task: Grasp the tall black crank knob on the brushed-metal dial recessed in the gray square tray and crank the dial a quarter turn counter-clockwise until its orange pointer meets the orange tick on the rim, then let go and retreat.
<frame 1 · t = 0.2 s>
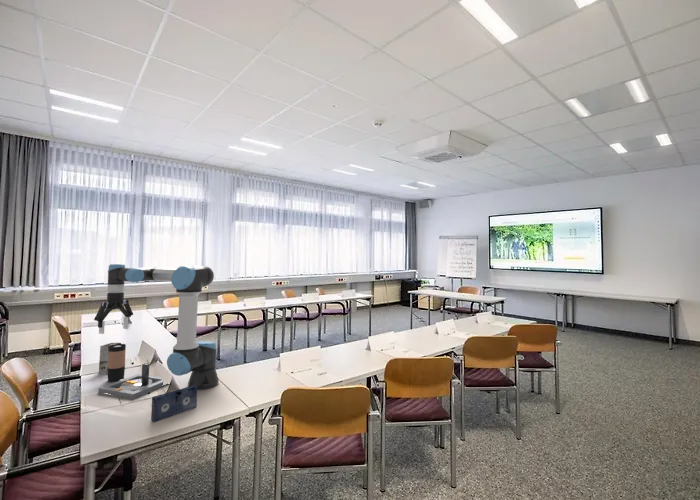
hand: (113, 331, 178), 28 cm above the table, fingers open, 13 cm apart
gray square tray: (136, 390, 167), on the table
vhs cassette tape: (174, 414, 143), on the table
travel mug: (115, 383, 177), on the table
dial: (136, 375, 167), point 8 cm above the table, hinge at 0.0°
coffee box: (109, 371, 194), on the table
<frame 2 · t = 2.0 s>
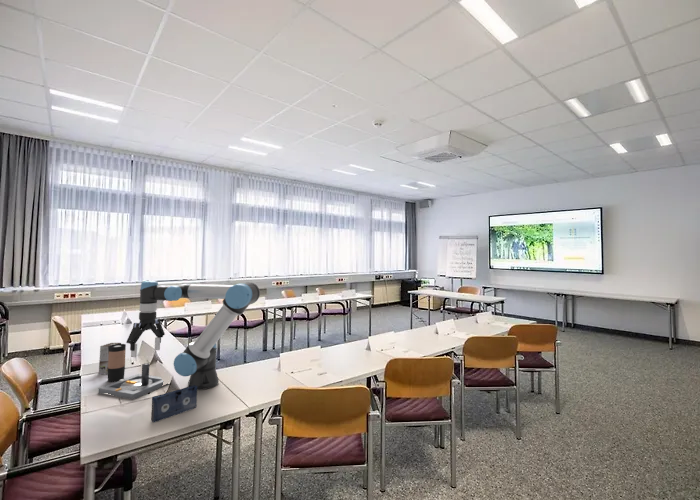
hand: (145, 353, 166), 19 cm above the table, fingers open, 13 cm apart
nothing on the table moved.
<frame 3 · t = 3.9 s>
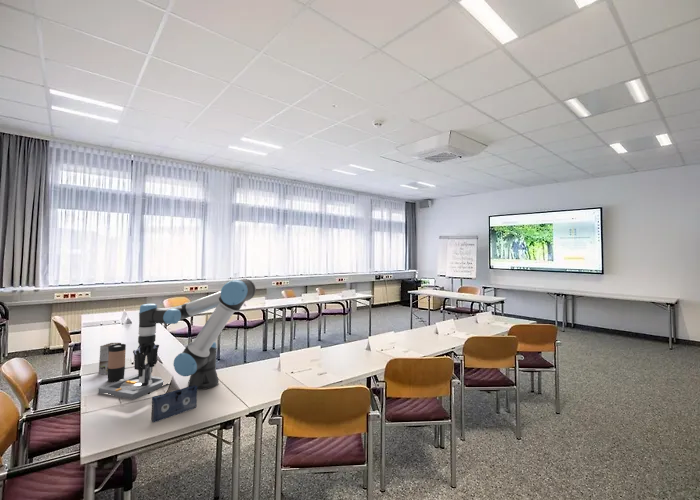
hand: (145, 381, 166), 6 cm above the table, fingers closed on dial, 3 cm apart
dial: (136, 375, 167), point 8 cm above the table, hinge at 0.0°, touching gripper
everything else where it was.
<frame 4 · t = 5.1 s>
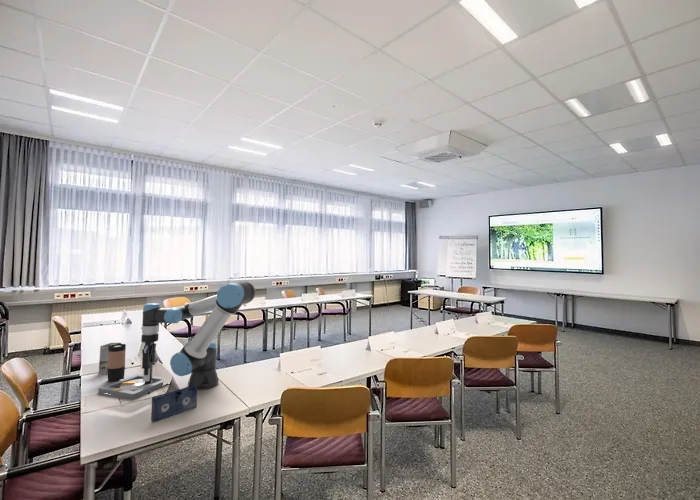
hand: (147, 379, 168), 6 cm above the table, fingers open, 3 cm apart
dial: (136, 375, 167), point 8 cm above the table, hinge at 22.9°, touching gripper
everything else where it was.
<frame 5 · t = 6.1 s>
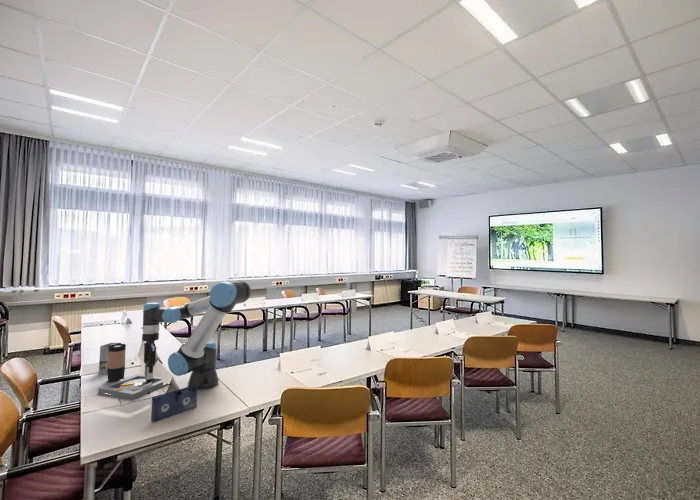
hand: (148, 377, 170), 6 cm above the table, fingers open, 4 cm apart
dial: (136, 375, 167), point 8 cm above the table, hinge at 52.0°, touching gripper
everything else where it was.
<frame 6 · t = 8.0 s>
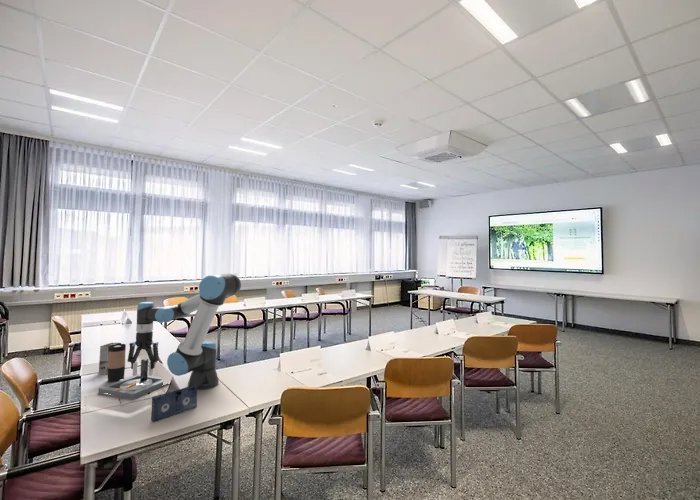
hand: (142, 375, 173), 6 cm above the table, fingers open, 7 cm apart
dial: (136, 375, 167), point 8 cm above the table, hinge at 102.2°
everything else where it was.
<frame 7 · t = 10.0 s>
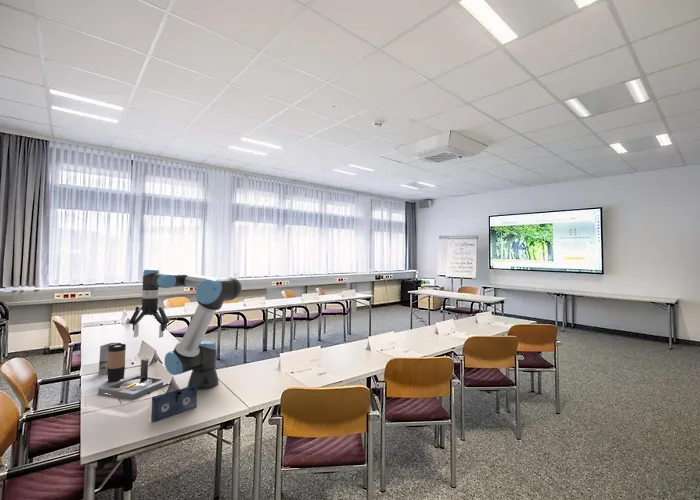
hand: (148, 336, 178), 25 cm above the table, fingers open, 13 cm apart
nothing on the table moved.
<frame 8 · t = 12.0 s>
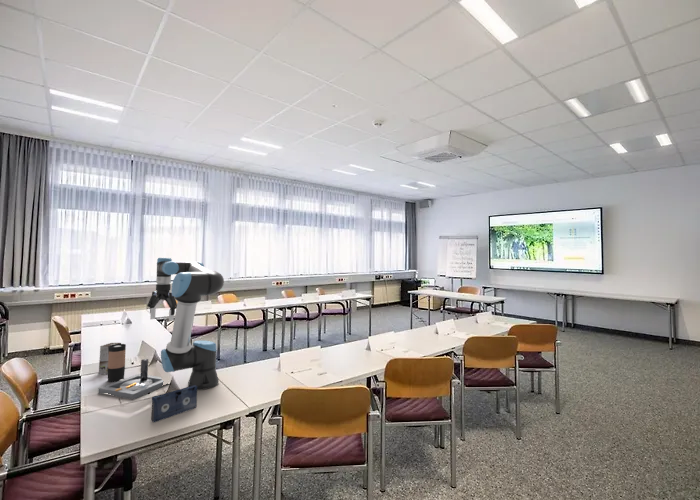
hand: (161, 319, 193), 32 cm above the table, fingers open, 13 cm apart
nothing on the table moved.
at the end: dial at +102° (first picture: +0°); the gripper is holding nothing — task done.
